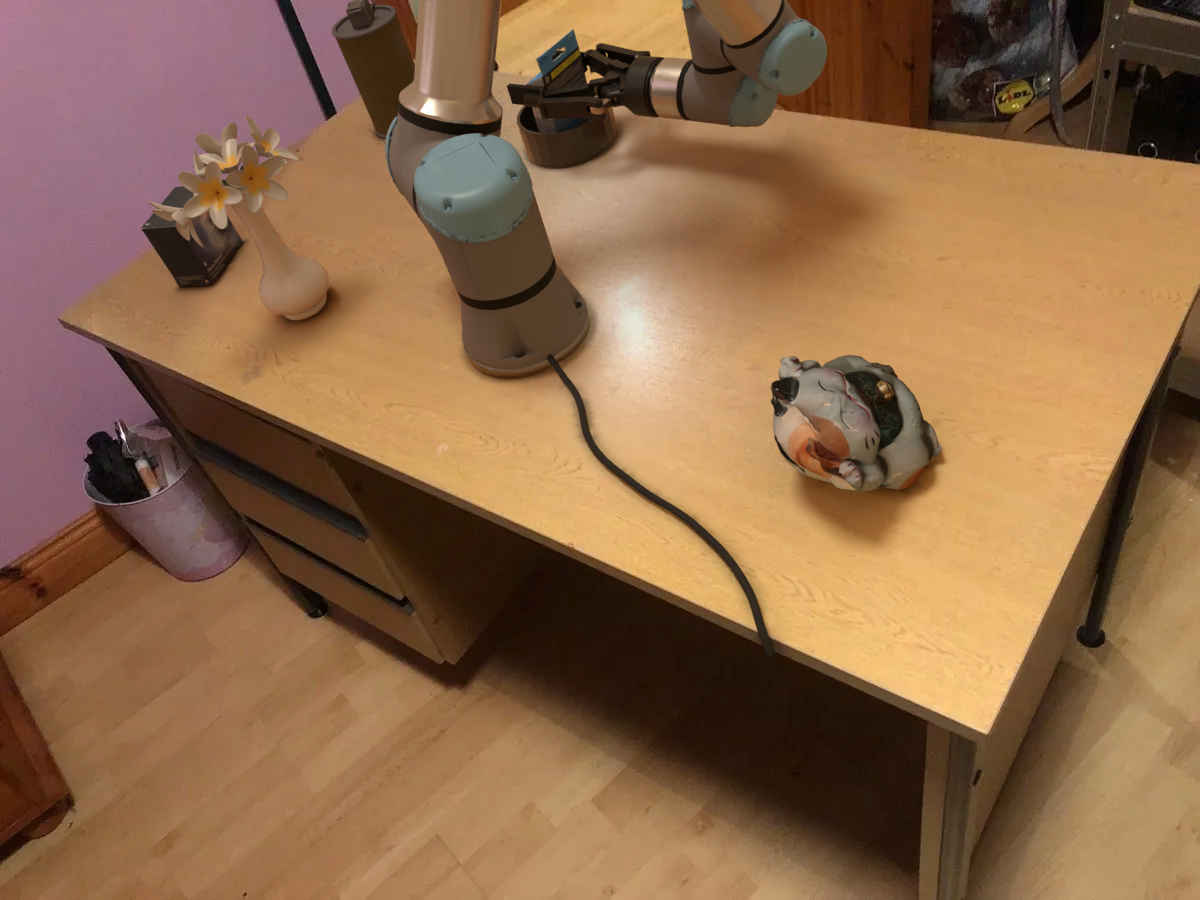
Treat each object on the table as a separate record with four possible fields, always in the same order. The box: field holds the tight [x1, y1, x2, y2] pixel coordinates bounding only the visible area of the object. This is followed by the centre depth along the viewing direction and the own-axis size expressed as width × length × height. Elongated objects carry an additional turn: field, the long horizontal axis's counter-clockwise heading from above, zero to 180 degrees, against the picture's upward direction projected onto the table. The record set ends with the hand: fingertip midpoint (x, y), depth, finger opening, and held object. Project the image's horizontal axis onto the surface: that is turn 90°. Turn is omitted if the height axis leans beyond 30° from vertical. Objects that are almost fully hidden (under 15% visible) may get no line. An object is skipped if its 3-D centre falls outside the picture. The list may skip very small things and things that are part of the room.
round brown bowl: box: [516, 82, 619, 169], centre depth 139 cm, size 14×14×6 cm
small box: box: [140, 185, 244, 288], centre depth 137 cm, size 11×6×10 cm, turn 168°
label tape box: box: [525, 28, 588, 133], centre depth 135 cm, size 9×4×12 cm, turn 144°
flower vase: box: [146, 115, 330, 321], centre depth 118 cm, size 13×18×25 cm
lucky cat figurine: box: [770, 354, 943, 493], centre depth 84 cm, size 15×12×14 cm
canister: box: [331, 0, 415, 139], centre depth 151 cm, size 11×10×20 cm
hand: (530, 76), depth 136 cm, fingers closed on label tape box, 9 cm apart
